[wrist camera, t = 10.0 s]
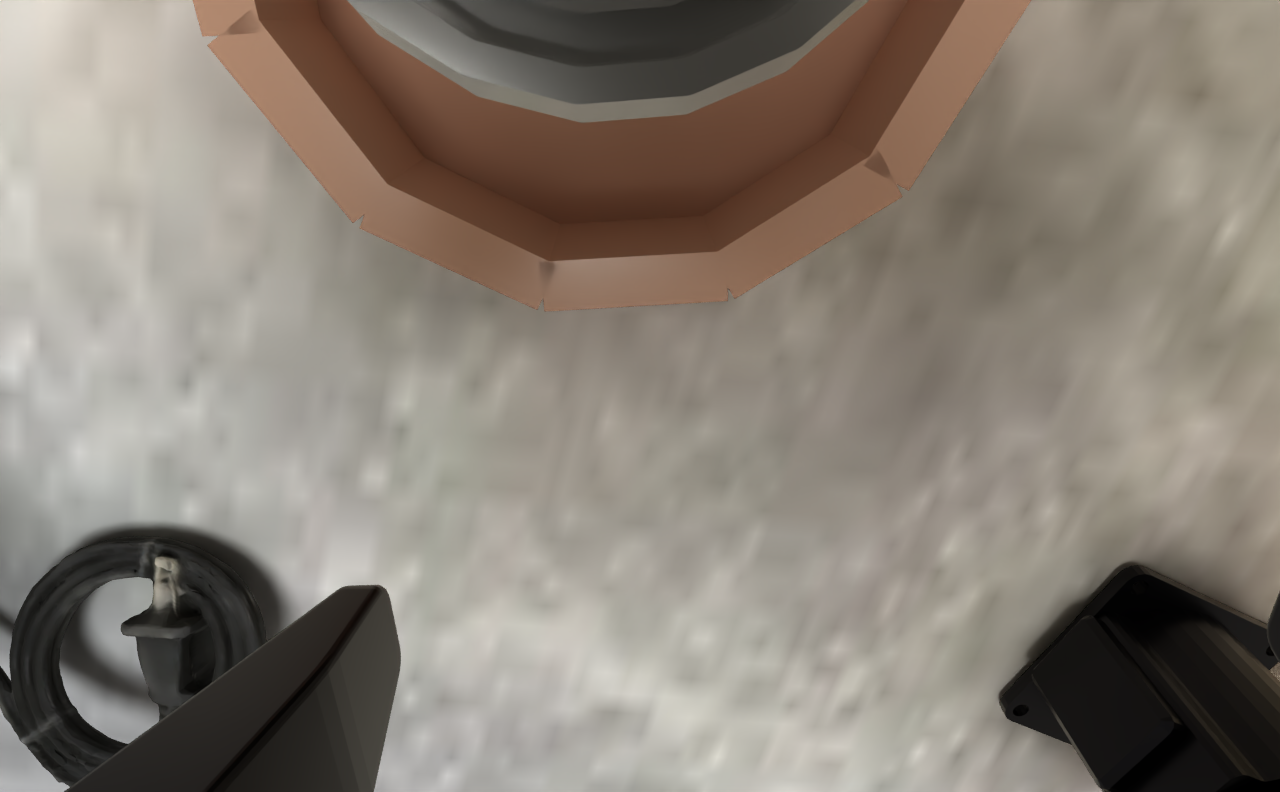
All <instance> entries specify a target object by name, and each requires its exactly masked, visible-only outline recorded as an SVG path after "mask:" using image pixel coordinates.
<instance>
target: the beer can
mask: <svg viewBox="0 0 1280 792" xmlns="http://www.w3.org/2000/svg"><path fill="white" fill-rule="evenodd" d="M347 1H348V2H349V3H350V4H351V5H352V6H353V7H354V8H355V10H356V11H357V12H358V13H359V14H360V15H361V16H362V17H363V18H364V20H365V21H366V22H367V23H368V24H369V25H370V26H371V27H372V28H373V30H374V31H375V32H376V33H377V34H378V35H379V36H381V37H383V38H384V39H386V40H387V41H389V42H391V43H392V44H394V45H396V46H397V47H399V48H400V49H402V50H404V51H405V52H407V53H408V54H410V55H412V56H413V57H415V58H416V59H418V60H420V61H421V62H423V63H424V64H426V65H428V66H429V67H431V68H432V69H434V70H436V71H437V72H439V73H440V74H442V75H444V76H445V77H447V78H449V79H450V80H452V81H453V82H455V83H457V84H458V85H460V86H461V87H463V88H465V89H466V90H468V91H469V92H471V93H473V94H474V95H476V96H478V97H482V98H485V99H489V100H493V101H497V102H501V103H505V104H509V105H513V106H517V107H521V108H525V109H529V110H533V111H537V112H541V113H545V114H549V115H552V116H556V117H560V118H564V119H568V120H572V121H576V122H580V123H587V122H599V121H612V120H624V119H637V118H650V117H662V116H675V115H686V114H689V113H691V112H693V111H696V110H698V109H700V108H703V107H705V106H707V105H710V104H712V103H714V102H717V101H719V100H721V99H724V98H726V97H728V96H731V95H733V94H735V93H738V92H740V91H742V90H745V89H747V88H749V87H752V86H754V85H756V84H759V83H761V82H763V81H766V80H768V79H770V78H773V77H775V76H777V75H780V74H782V73H784V72H786V71H788V70H789V69H790V68H791V67H792V66H793V65H795V64H796V63H797V62H798V61H799V60H800V59H802V58H803V57H804V56H805V55H806V54H807V53H809V52H810V51H811V50H812V49H813V48H814V47H816V46H817V45H818V44H819V43H820V42H821V41H823V40H824V39H825V38H826V37H827V36H828V35H830V34H831V33H832V32H833V31H834V30H835V29H837V28H838V27H839V26H840V25H841V24H842V23H844V22H845V21H846V20H847V19H848V18H849V17H851V16H852V15H853V14H854V13H855V12H856V11H858V10H859V9H860V8H861V7H862V6H863V5H864V4H866V3H867V2H868V1H869V0H347Z"/></svg>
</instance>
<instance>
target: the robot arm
mask: <svg viewBox="0 0 1280 792" xmlns="http://www.w3.org/2000/svg"><path fill="white" fill-rule="evenodd" d="M1136 582H1138V583H1136ZM1135 583H1136V584H1135ZM1133 584H1135V585H1133ZM1278 662H1279V663H1280V592H1279V594H1278V597H1277V600H1276V602H1275V605H1274V607H1273V610H1272V613H1271V615H1270V618H1269V621H1268V624H1264V623H1262V622H1260V621H1258V620H1256V619H1254V618H1252V617H1250V616H1247V615H1245V614H1243V613H1241V612H1239V611H1237V610H1235V609H1232V608H1230V607H1228V606H1226V605H1224V604H1222V603H1220V602H1218V601H1215V600H1213V599H1211V598H1209V597H1207V596H1205V595H1203V594H1200V593H1198V592H1196V591H1194V590H1192V589H1190V588H1188V587H1186V586H1183V585H1181V584H1179V583H1177V582H1175V581H1173V580H1171V579H1168V578H1166V577H1164V576H1162V575H1160V574H1158V573H1156V572H1154V571H1151V570H1149V569H1147V568H1145V567H1142V566H1138V565H1137V566H1130V567H1128V568H1125V569H1124V570H1122V571H1121V572H1120V573H1119V574H1118V575H1117V576H1116V577H1115V578H1114V579H1113V580H1112V581H1111V582H1110V583H1109V584H1108V585H1107V586H1106V587H1105V588H1104V590H1103V591H1102V592H1101V593H1100V594H1099V595H1098V596H1097V597H1096V598H1095V599H1094V600H1093V601H1092V602H1091V603H1090V604H1089V605H1088V606H1087V607H1086V609H1085V610H1084V611H1083V612H1082V613H1081V614H1080V615H1079V616H1078V617H1077V618H1076V619H1075V620H1074V621H1073V622H1072V623H1071V624H1070V625H1069V626H1068V628H1067V629H1066V630H1065V631H1064V632H1063V633H1062V634H1061V635H1060V636H1059V637H1058V638H1057V639H1056V640H1055V641H1054V642H1053V643H1052V644H1051V645H1050V647H1049V648H1048V649H1047V650H1046V651H1045V652H1044V653H1043V654H1042V655H1041V656H1040V657H1039V658H1038V659H1037V660H1036V661H1035V662H1034V663H1033V664H1032V666H1031V667H1030V668H1029V669H1028V670H1027V671H1026V672H1025V673H1024V674H1023V675H1022V676H1021V677H1020V678H1019V679H1018V680H1017V681H1016V682H1015V683H1014V685H1013V686H1012V687H1011V688H1010V689H1009V690H1008V691H1007V692H1006V693H1005V694H1004V695H1003V696H1002V698H1001V699H1000V706H1001V708H1002V710H1003V712H1004V714H1005V716H1006V717H1007V718H1008V719H1009V720H1011V721H1013V722H1016V723H1018V724H1021V725H1023V726H1026V727H1028V728H1031V729H1033V730H1036V731H1038V732H1041V733H1043V734H1046V735H1049V736H1051V737H1054V738H1056V739H1059V740H1061V741H1064V742H1066V743H1069V744H1071V745H1073V747H1074V748H1075V750H1076V752H1077V753H1078V755H1079V756H1080V758H1081V760H1082V761H1083V763H1084V765H1085V766H1086V768H1087V769H1088V771H1089V773H1090V774H1091V776H1092V777H1093V779H1094V781H1095V782H1096V784H1097V785H1098V786H1099V787H1100V788H1101V789H1102V791H1103V792H1280V681H1279V680H1278V679H1277V678H1276V677H1275V676H1274V675H1273V674H1272V673H1271V672H1270V671H1269V670H1270V669H1271V668H1272V667H1273V666H1274V665H1276V664H1277V663H1278ZM400 664H401V651H400V645H399V640H398V635H397V630H396V625H395V620H394V616H393V611H392V606H391V601H390V597H389V594H388V592H387V591H386V589H385V588H383V587H382V586H380V585H356V586H345V587H342V588H340V589H339V590H337V591H335V592H334V593H333V594H331V595H330V596H329V597H327V598H326V599H325V600H323V601H322V602H321V603H319V604H318V605H317V606H315V607H314V608H312V609H311V610H310V611H308V612H307V613H306V614H304V615H303V616H302V617H300V618H299V619H298V620H296V621H295V622H293V623H292V624H291V625H289V626H288V627H287V628H285V629H284V630H283V631H281V632H280V633H279V634H277V635H276V636H275V637H273V638H272V639H270V640H269V641H268V642H266V643H265V644H264V645H262V646H261V647H260V648H258V649H257V650H256V651H254V652H253V653H251V654H250V655H249V656H247V657H246V658H245V659H243V660H242V661H241V662H239V663H238V664H237V665H235V666H234V667H232V668H231V669H230V670H228V671H227V672H226V673H224V674H223V675H222V676H220V677H219V678H218V679H216V680H215V681H214V682H212V683H211V684H209V685H208V686H207V687H205V688H204V689H203V690H201V691H200V692H199V693H197V694H196V695H195V696H193V697H192V698H190V699H189V700H188V701H186V702H185V703H184V704H182V705H181V706H180V707H178V708H177V709H176V710H174V711H173V712H172V713H170V714H169V715H167V716H166V717H165V718H163V719H162V720H161V721H159V722H158V723H157V724H155V725H154V726H153V727H151V728H150V729H148V730H147V731H146V732H144V733H143V734H142V735H140V736H139V737H138V738H136V739H135V740H134V741H132V742H131V743H129V744H128V745H127V746H125V747H124V748H123V749H121V750H120V751H119V752H117V753H116V754H115V755H113V756H112V757H111V758H109V759H108V760H106V761H105V762H104V763H102V764H101V765H100V766H98V767H97V768H96V769H94V770H93V771H92V772H90V773H89V774H87V775H86V776H85V777H83V778H82V779H81V780H79V781H78V782H77V783H75V784H74V785H73V786H71V787H70V788H68V789H67V790H66V791H64V792H374V788H375V783H376V779H377V774H378V770H379V765H380V760H381V756H382V751H383V747H384V742H385V737H386V733H387V728H388V723H389V719H390V714H391V710H392V705H393V700H394V696H395V691H396V687H397V682H398V677H399V672H400Z"/></svg>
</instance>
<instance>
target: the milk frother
mask: <svg viewBox="0 0 1280 792" xmlns="http://www.w3.org/2000/svg"><path fill="white" fill-rule="evenodd" d="M132 577H142V578H150V579H151V580H152V581H153V591H154V592H153V600H152V604H151V605H150V607H149V608H148V609H147V610H145V611H143V612H142V613H141V614H139V615H136V616H133V617H131V618H130V619H128V620H126V621H125V622H123V623H122V625H121V632H122V634H123V635H126V636H135V637H136V640H137V651H138V656H139V661H140V665H141V669H142V671H143V674H144V677H145V680H146V683H147V685H148V686H149V696H150V698H151V699H152V701H153V702H156V703H157V704H158V705H159V712H160V717H159V721H161V720H162V719H163V718H165V717H166V716H167V715H169V714H170V713H172V712H173V711H174V710H176V709H177V708H178V707H180V706H181V705H182V704H184V703H185V702H186V701H188V700H189V699H190V698H192V697H193V696H195V695H196V694H197V693H199V692H200V691H201V690H203V689H204V688H205V687H207V686H208V685H209V684H211V683H212V682H214V681H215V680H216V679H218V678H219V677H220V676H222V675H223V674H224V673H226V672H227V671H228V670H230V669H231V668H232V667H234V666H235V665H237V664H238V663H239V662H241V661H242V660H243V659H245V658H246V657H247V656H249V655H250V654H251V653H253V652H254V651H256V650H257V649H258V648H260V647H261V646H262V645H264V644H265V643H266V642H267V640H266V631H265V627H264V622H263V619H262V616H261V613H260V610H259V607H258V605H257V603H256V601H255V599H254V597H253V595H252V593H251V592H250V590H249V589H248V587H247V586H246V584H245V583H244V582H243V580H242V579H241V578H240V576H239V575H238V574H237V573H236V572H235V571H234V570H233V569H232V568H231V567H230V566H228V565H227V564H225V563H224V562H222V561H221V560H219V559H217V558H216V557H214V556H213V555H211V554H209V553H207V552H206V551H204V550H202V549H201V548H198V547H196V546H193V545H190V544H187V543H183V542H180V541H177V540H174V539H170V538H161V537H144V536H141V537H125V538H119V539H112V540H108V541H104V542H100V543H96V544H93V545H90V546H87V547H85V548H81V549H80V550H78V551H76V552H75V553H73V554H71V555H69V556H67V557H65V558H64V559H63V560H62V561H61V562H60V563H59V564H58V565H56V566H55V567H53V568H52V569H51V570H50V571H49V572H48V573H46V574H45V575H44V576H43V577H42V578H41V579H40V580H39V582H38V583H37V584H36V585H35V586H34V587H33V588H32V590H31V591H30V593H29V594H28V596H27V598H26V600H25V601H24V603H23V605H22V607H21V609H20V611H19V614H18V616H17V619H16V622H15V626H14V629H13V633H12V643H11V649H10V673H11V681H10V679H9V678H8V676H7V675H6V673H5V672H4V671H3V669H2V668H1V666H0V708H1V710H2V712H3V715H4V717H5V718H6V719H7V720H8V722H9V723H10V724H11V725H12V727H13V729H14V731H15V732H16V734H17V735H18V737H19V739H20V741H21V742H22V743H24V744H25V745H26V746H27V747H28V749H29V750H30V751H31V752H32V753H33V755H34V756H35V757H36V758H37V759H38V761H39V762H40V763H41V764H42V766H43V767H44V768H45V769H46V770H48V771H49V772H50V773H51V774H52V775H53V776H54V778H55V779H56V780H57V781H58V782H63V783H65V784H67V785H68V786H70V787H71V786H73V785H74V784H75V783H77V782H78V781H79V780H81V779H82V778H83V777H85V776H86V775H87V774H89V773H90V772H92V771H93V770H94V769H96V768H97V767H98V766H100V765H101V764H102V763H104V762H105V761H106V760H108V759H109V758H111V757H112V756H113V755H115V754H116V753H117V752H119V751H120V750H121V749H123V748H124V747H125V746H127V745H128V744H125V743H122V742H119V741H116V740H113V739H111V738H109V737H107V736H106V735H104V734H103V733H101V732H100V731H98V730H96V729H95V728H93V727H92V726H91V725H90V724H88V723H87V722H86V721H85V720H84V719H83V718H82V717H81V716H80V714H79V713H78V711H77V709H76V708H75V707H74V706H73V705H72V704H71V702H70V700H69V698H68V696H67V694H66V691H65V689H64V686H63V681H62V677H61V675H60V668H59V660H60V647H61V643H62V639H63V636H64V633H65V630H66V627H67V625H68V623H69V621H70V619H71V617H72V615H73V614H74V612H75V611H76V609H77V608H78V607H79V605H80V604H81V603H82V601H83V600H84V599H85V598H87V597H88V596H89V595H90V594H91V593H92V592H93V591H94V590H95V589H97V588H99V587H100V586H102V585H103V584H105V583H107V582H109V581H112V580H116V579H123V578H132Z"/></svg>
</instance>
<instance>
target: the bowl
mask: <svg viewBox="0 0 1280 792" xmlns="http://www.w3.org/2000/svg"><path fill="white" fill-rule="evenodd" d="M1030 1H1031V0H869V1H868V2H867V3H866V4H864V5H863V6H862V7H861V8H860V9H859V10H858V11H856V12H855V13H854V14H853V15H852V16H851V17H849V18H848V19H847V20H846V21H845V22H844V23H842V24H841V25H840V26H839V27H838V28H837V29H835V30H834V31H833V32H832V33H831V34H830V35H828V36H827V37H826V38H825V39H824V40H823V41H821V42H820V43H819V44H818V45H817V46H816V47H814V48H813V49H812V50H811V51H810V52H809V53H807V54H806V55H805V56H804V57H803V58H802V59H800V60H799V61H798V62H797V63H796V64H795V65H793V66H792V67H791V68H790V69H789V70H788V71H786V72H784V73H782V74H780V75H777V76H775V77H773V78H770V79H768V80H766V81H763V82H761V83H759V84H756V85H754V86H752V87H749V88H747V89H745V90H742V91H740V92H738V93H735V94H733V95H731V96H728V97H726V98H724V99H721V100H719V101H717V102H714V103H712V104H710V105H707V106H705V107H703V108H700V109H698V110H696V111H693V112H691V113H689V114H686V115H675V116H662V117H650V118H637V119H624V120H612V121H599V122H587V123H580V122H576V121H572V120H568V119H564V118H560V117H556V116H552V115H549V114H545V113H541V112H537V111H533V110H529V109H525V108H521V107H517V106H513V105H509V104H505V103H501V102H497V101H493V100H489V99H485V98H482V97H478V96H476V95H474V94H473V93H471V92H469V91H468V90H466V89H465V88H463V87H461V86H460V85H458V84H457V83H455V82H453V81H452V80H450V79H449V78H447V77H445V76H444V75H442V74H440V73H439V72H437V71H436V70H434V69H432V68H431V67H429V66H428V65H426V64H424V63H423V62H421V61H420V60H418V59H416V58H415V57H413V56H412V55H410V54H408V53H407V52H405V51H404V50H402V49H400V48H399V47H397V46H396V45H394V44H392V43H391V42H389V41H387V40H386V39H384V38H383V37H381V36H379V35H378V34H377V33H376V32H375V31H374V30H373V28H372V27H371V26H370V25H369V24H368V23H367V22H366V21H365V20H364V18H363V17H362V16H361V15H360V14H359V13H358V12H357V11H356V10H355V8H354V7H353V6H352V5H351V4H350V3H349V2H348V1H347V0H193V3H194V6H195V10H196V14H197V18H198V21H199V25H200V29H201V32H202V36H218V37H217V38H216V39H214V40H213V41H212V42H211V43H210V44H208V45H207V46H208V47H209V48H210V49H211V51H212V52H213V53H214V54H215V55H216V57H217V58H218V59H219V60H220V62H221V63H222V64H223V65H224V66H225V68H226V69H227V70H228V71H229V73H230V74H231V75H232V76H233V77H234V79H235V80H236V81H237V82H238V84H239V85H240V86H241V87H242V88H243V90H244V91H245V92H246V93H247V95H248V96H249V97H250V98H251V99H252V101H253V102H254V103H255V104H256V105H257V107H258V108H259V109H260V110H261V112H262V113H263V114H264V115H265V116H266V118H267V119H268V120H269V121H270V123H271V124H272V125H273V126H274V127H275V129H276V130H277V131H278V132H279V134H280V135H281V136H282V137H283V138H284V140H285V141H286V142H287V143H288V145H289V146H290V147H291V148H292V149H293V151H294V152H295V153H296V154H297V156H298V157H299V158H300V159H301V160H302V162H303V163H304V164H305V165H306V167H307V168H308V169H309V170H310V171H311V173H312V174H313V175H314V176H315V178H316V179H317V180H318V181H319V182H320V184H321V185H322V186H323V187H324V188H325V190H326V191H327V192H328V193H329V195H330V196H331V197H332V198H333V199H334V201H335V202H336V203H337V204H338V206H339V207H340V208H341V209H342V210H343V212H344V213H345V214H346V215H347V217H348V218H349V219H350V220H351V221H352V223H354V222H355V221H356V220H358V219H359V218H361V217H362V216H363V215H364V217H363V220H362V223H361V226H360V229H362V230H364V231H367V232H369V233H371V234H373V235H375V236H377V237H380V238H382V239H384V240H386V241H388V242H390V243H393V244H395V245H397V246H399V247H401V248H403V249H406V250H408V251H410V252H412V253H414V254H416V255H419V256H421V257H423V258H425V259H427V260H429V261H432V262H434V263H436V264H438V265H440V266H442V267H445V268H447V269H449V270H451V271H453V272H456V273H458V274H460V275H462V276H464V277H466V278H469V279H471V280H473V281H475V282H477V283H479V284H482V285H484V286H486V287H488V288H490V289H492V290H495V291H497V292H499V293H501V294H503V295H505V296H508V297H510V298H512V299H514V300H516V301H518V302H521V303H523V304H525V305H527V306H529V307H531V308H534V309H536V310H537V309H538V307H539V305H540V303H541V301H542V299H543V302H544V311H562V310H579V309H597V308H614V307H632V306H649V305H667V304H684V303H701V302H719V301H728V289H729V290H730V292H731V293H732V295H733V296H734V298H737V297H739V296H740V295H742V294H744V293H745V292H747V291H748V290H750V289H752V288H753V287H755V286H757V285H758V284H760V283H762V282H763V281H765V280H767V279H768V278H770V277H771V276H773V275H775V274H776V273H778V272H780V271H781V270H783V269H785V268H786V267H788V266H790V265H791V264H793V263H794V262H796V261H798V260H799V259H801V258H803V257H804V256H806V255H808V254H809V253H811V252H813V251H814V250H816V249H817V248H819V247H821V246H822V245H824V244H826V243H827V242H829V241H831V240H832V239H834V238H836V237H837V236H839V235H841V234H842V233H844V232H845V231H847V230H849V229H850V228H852V227H854V226H855V225H857V224H859V223H860V222H862V221H864V220H865V219H867V218H868V217H870V216H872V215H873V214H875V213H877V212H878V211H880V210H882V209H883V208H885V207H887V206H888V205H890V204H891V203H893V202H895V201H896V200H898V199H900V198H901V197H902V195H901V193H900V191H899V189H898V187H897V185H899V186H901V187H903V188H905V189H906V190H908V191H909V189H910V188H911V186H912V185H913V183H914V182H915V180H916V179H917V177H918V176H919V174H920V172H921V171H922V169H923V168H924V166H925V165H926V163H927V162H928V160H929V158H930V157H931V155H932V154H933V152H934V151H935V149H936V148H937V146H938V144H939V143H940V141H941V140H942V138H943V137H944V135H945V134H946V132H947V130H948V129H949V127H950V126H951V124H952V123H953V121H954V120H955V118H956V116H957V115H958V113H959V112H960V110H961V109H962V107H963V106H964V104H965V102H966V101H967V99H968V98H969V96H970V95H971V93H972V92H973V90H974V88H975V87H976V85H977V84H978V82H979V81H980V79H981V78H982V76H983V74H984V73H985V71H986V70H987V68H988V67H989V65H990V64H991V62H992V60H993V59H994V57H995V56H996V54H997V53H998V51H999V50H1000V48H1001V46H1002V45H1003V43H1004V42H1005V40H1006V39H1007V37H1008V36H1009V34H1010V32H1011V31H1012V29H1013V28H1014V26H1015V25H1016V23H1017V22H1018V20H1019V18H1020V17H1021V15H1022V14H1023V12H1024V11H1025V9H1026V8H1027V6H1028V4H1029V3H1030ZM896 184H897V185H896Z"/></svg>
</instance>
